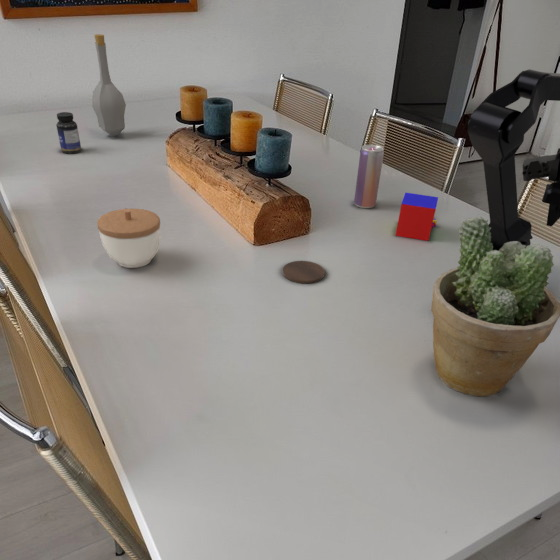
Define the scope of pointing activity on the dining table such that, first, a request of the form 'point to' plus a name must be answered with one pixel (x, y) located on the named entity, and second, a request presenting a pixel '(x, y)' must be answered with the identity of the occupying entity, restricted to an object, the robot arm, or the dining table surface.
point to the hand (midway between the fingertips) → (549, 225)
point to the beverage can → (368, 176)
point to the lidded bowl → (130, 236)
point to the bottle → (107, 95)
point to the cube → (416, 216)
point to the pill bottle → (68, 133)
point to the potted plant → (490, 311)
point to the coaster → (303, 272)
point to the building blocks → (434, 223)
